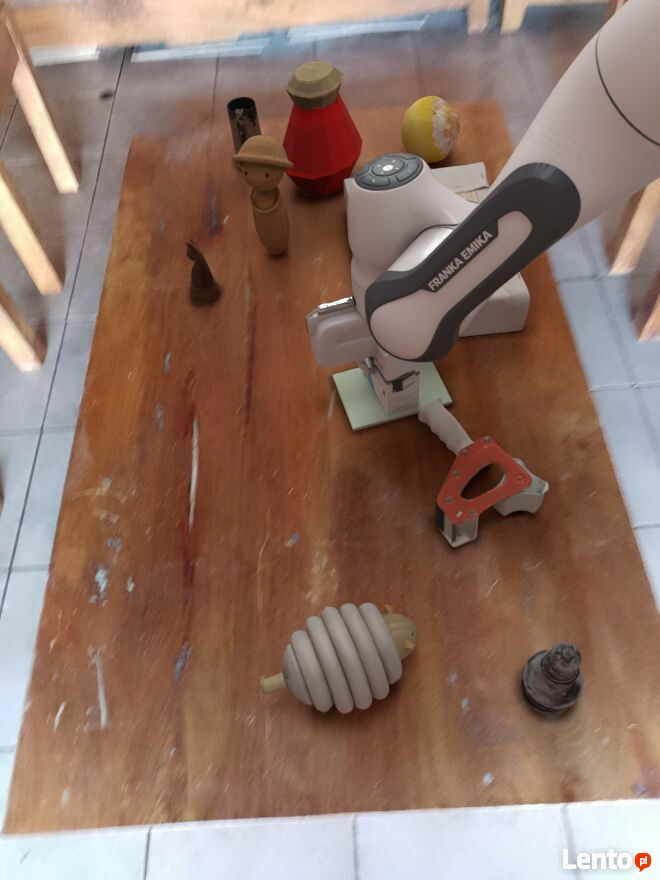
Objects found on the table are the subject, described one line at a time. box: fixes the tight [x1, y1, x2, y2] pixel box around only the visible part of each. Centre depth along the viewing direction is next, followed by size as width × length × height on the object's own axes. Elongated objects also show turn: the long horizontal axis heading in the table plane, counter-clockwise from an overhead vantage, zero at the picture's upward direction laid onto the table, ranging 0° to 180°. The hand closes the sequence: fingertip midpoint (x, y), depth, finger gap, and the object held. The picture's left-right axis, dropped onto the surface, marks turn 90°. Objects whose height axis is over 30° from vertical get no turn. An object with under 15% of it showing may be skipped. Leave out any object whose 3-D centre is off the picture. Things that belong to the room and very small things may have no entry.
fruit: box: [400, 95, 461, 163], centre depth 125 cm, size 10×11×10 cm
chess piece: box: [184, 238, 221, 305], centre depth 109 cm, size 5×5×10 cm
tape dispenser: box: [417, 397, 550, 548], centre depth 88 cm, size 18×5×20 cm
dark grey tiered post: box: [520, 641, 584, 716], centre depth 70 cm, size 6×6×12 cm
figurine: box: [230, 134, 293, 255], centre depth 109 cm, size 9×7×20 cm
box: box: [343, 161, 531, 338], centre depth 109 cm, size 23×8×32 cm
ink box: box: [367, 345, 420, 414], centre depth 94 cm, size 8×5×12 cm, turn 19°
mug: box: [226, 96, 263, 170], centre depth 127 cm, size 8×6×12 cm
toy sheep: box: [259, 602, 420, 714], centre depth 72 cm, size 11×17×11 cm, turn 115°
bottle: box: [281, 60, 364, 199], centre depth 119 cm, size 16×14×20 cm
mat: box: [331, 362, 453, 432], centre depth 99 cm, size 14×10×1 cm
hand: (390, 365), depth 95 cm, fingers closed on ink box, 5 cm apart
